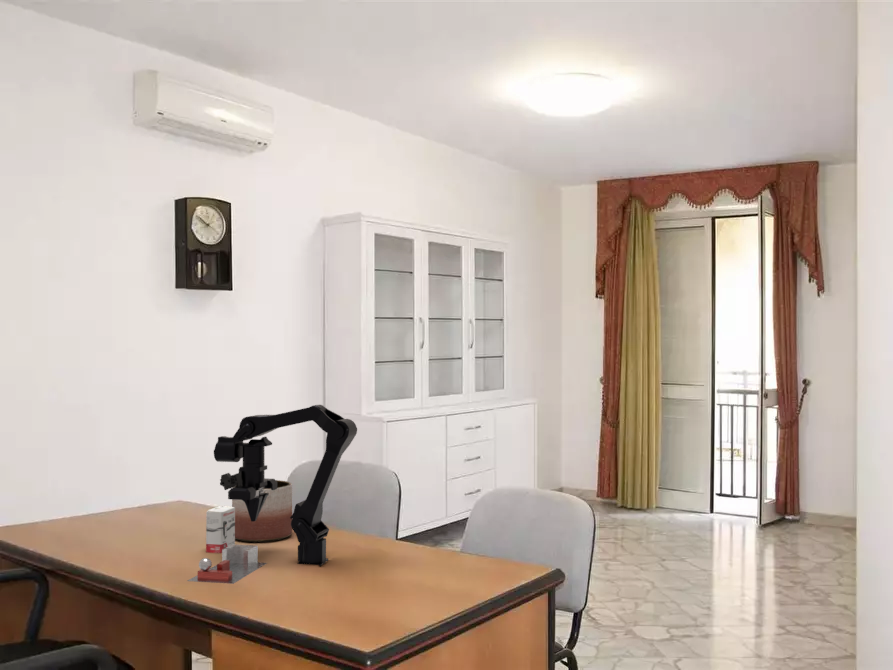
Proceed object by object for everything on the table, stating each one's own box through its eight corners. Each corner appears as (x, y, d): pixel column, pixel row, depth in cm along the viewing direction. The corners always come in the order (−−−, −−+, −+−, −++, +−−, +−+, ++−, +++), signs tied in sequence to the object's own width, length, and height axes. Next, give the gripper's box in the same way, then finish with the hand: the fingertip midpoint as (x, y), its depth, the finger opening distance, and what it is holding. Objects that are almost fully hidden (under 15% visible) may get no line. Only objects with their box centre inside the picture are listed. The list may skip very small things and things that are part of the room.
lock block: (257, 562, 221) (257, 545, 221) (247, 568, 215) (247, 550, 215) (232, 561, 222) (232, 544, 222) (222, 567, 216) (222, 549, 216)
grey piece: (267, 564, 221) (267, 543, 221) (233, 585, 201) (233, 562, 201) (224, 562, 223) (224, 541, 223) (186, 582, 204) (186, 559, 204)
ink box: (221, 555, 232) (221, 511, 232) (205, 554, 233) (205, 511, 233) (235, 547, 240) (235, 506, 240) (219, 547, 241) (220, 505, 241)
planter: (280, 544, 244) (280, 489, 244) (221, 542, 247) (221, 488, 247) (300, 531, 262) (300, 480, 262) (245, 529, 264) (245, 479, 265)
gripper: (240, 457, 238) (240, 513, 237) (209, 466, 219) (209, 527, 219) (278, 458, 236) (278, 515, 235) (249, 467, 217) (249, 528, 217)
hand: (253, 521), depth 227 cm, fingers closed
